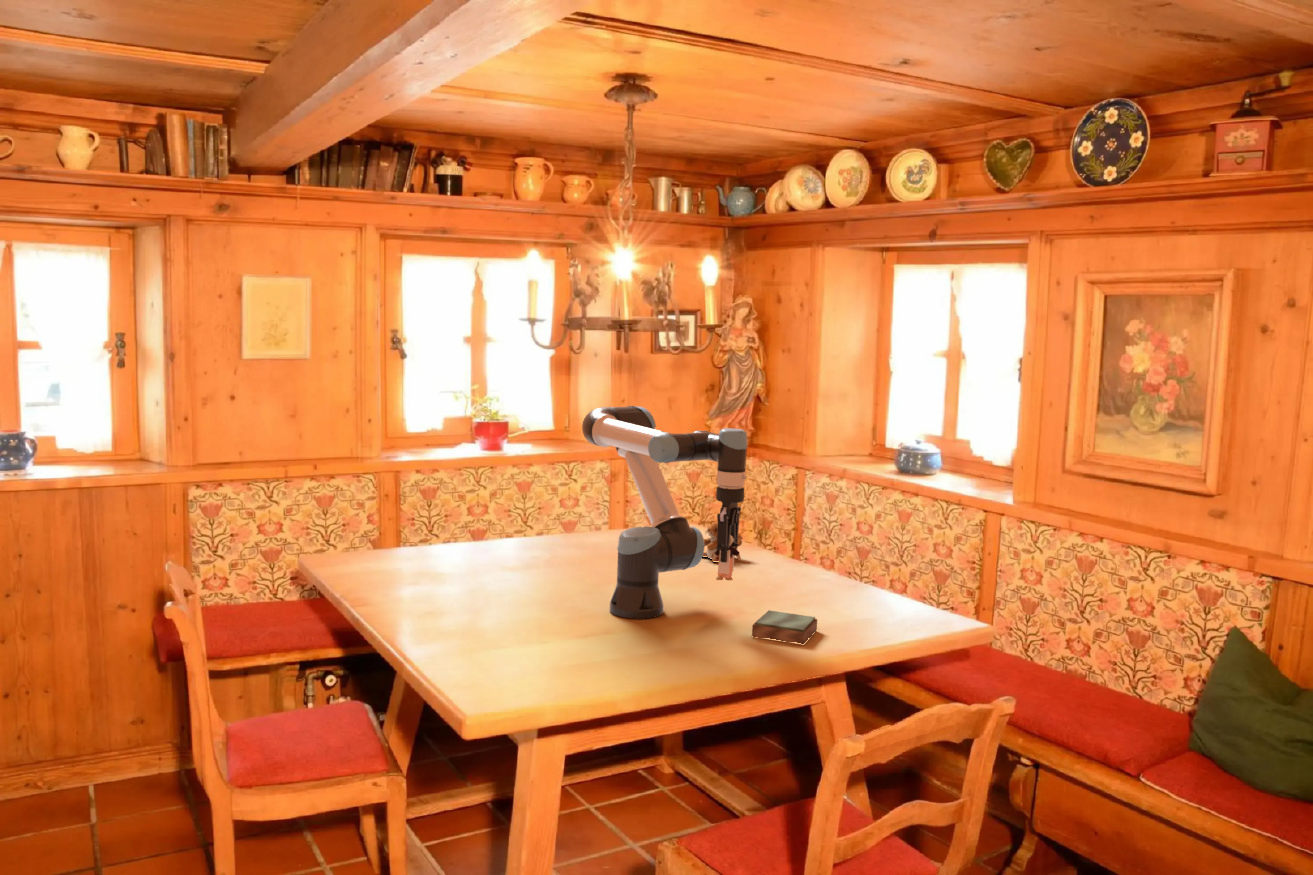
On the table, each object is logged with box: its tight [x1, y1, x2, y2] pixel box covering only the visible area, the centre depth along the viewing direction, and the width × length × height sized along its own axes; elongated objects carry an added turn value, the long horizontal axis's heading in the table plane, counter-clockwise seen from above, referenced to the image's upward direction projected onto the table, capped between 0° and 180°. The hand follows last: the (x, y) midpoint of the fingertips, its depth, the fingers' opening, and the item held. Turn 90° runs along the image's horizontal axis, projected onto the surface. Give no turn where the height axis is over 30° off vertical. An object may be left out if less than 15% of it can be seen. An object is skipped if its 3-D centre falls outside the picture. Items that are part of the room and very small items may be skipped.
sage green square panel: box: [751, 609, 818, 644], centre depth 279 cm, size 14×14×4 cm
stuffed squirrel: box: [703, 521, 744, 562], centre depth 362 cm, size 10×14×13 cm
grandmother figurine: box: [712, 535, 742, 581], centre depth 283 cm, size 8×4×13 cm, turn 102°
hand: (726, 571), depth 284 cm, fingers closed on grandmother figurine, 3 cm apart
